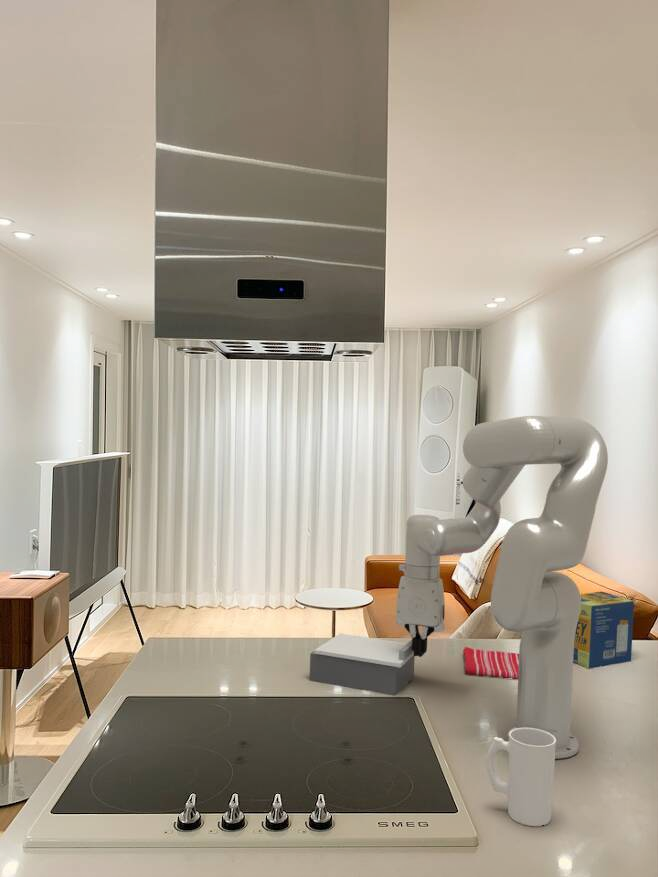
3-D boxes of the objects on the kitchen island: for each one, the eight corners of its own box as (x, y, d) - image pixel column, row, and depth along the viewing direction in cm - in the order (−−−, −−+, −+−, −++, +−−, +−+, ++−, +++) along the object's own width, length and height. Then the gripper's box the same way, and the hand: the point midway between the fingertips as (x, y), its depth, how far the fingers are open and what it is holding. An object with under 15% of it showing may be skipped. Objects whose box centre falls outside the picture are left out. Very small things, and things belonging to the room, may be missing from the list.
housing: (394, 695, 162) (395, 667, 162) (309, 680, 170) (310, 653, 169) (413, 675, 175) (414, 649, 174) (333, 662, 182) (334, 637, 182)
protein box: (556, 656, 192) (558, 596, 192) (600, 649, 200) (602, 591, 199) (588, 669, 183) (590, 605, 183) (632, 661, 190) (635, 600, 190)
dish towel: (462, 655, 193) (463, 645, 193) (559, 663, 189) (559, 652, 189) (462, 677, 176) (462, 666, 176) (568, 686, 172) (568, 675, 172)
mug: (555, 810, 116) (558, 732, 115) (550, 832, 109) (553, 749, 109) (488, 796, 119) (491, 720, 119) (480, 816, 113) (483, 736, 113)
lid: (400, 667, 161) (400, 654, 161) (314, 653, 169) (314, 641, 169) (420, 648, 174) (420, 636, 174) (339, 636, 182) (340, 625, 182)
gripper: (384, 571, 166) (381, 654, 166) (451, 579, 160) (448, 665, 161) (395, 565, 173) (392, 645, 173) (459, 572, 167) (456, 655, 167)
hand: (419, 654), depth 167 cm, fingers closed
